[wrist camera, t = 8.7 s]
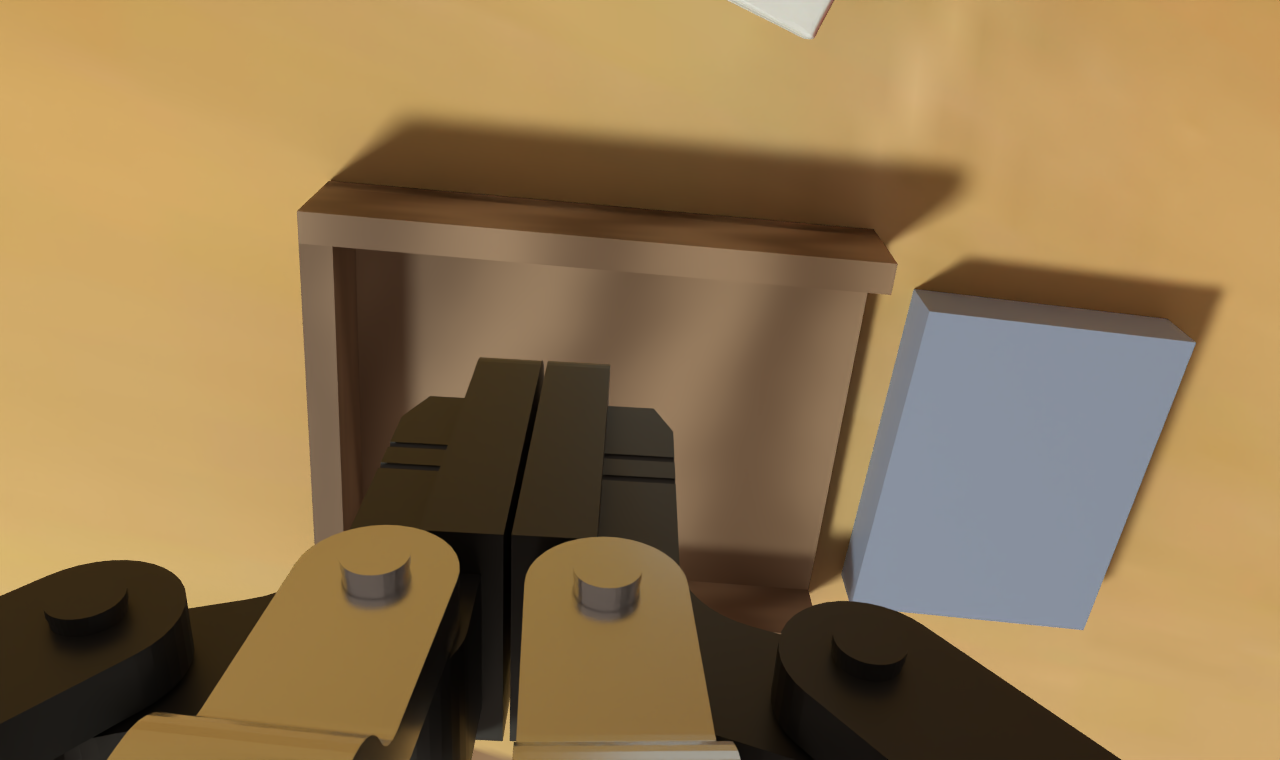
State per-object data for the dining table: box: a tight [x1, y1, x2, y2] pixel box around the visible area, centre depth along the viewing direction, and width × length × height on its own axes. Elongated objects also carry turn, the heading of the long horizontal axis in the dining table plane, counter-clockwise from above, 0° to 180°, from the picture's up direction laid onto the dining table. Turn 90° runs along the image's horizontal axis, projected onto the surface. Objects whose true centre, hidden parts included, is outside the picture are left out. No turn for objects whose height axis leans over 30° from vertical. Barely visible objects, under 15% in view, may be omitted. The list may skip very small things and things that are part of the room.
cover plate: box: [841, 289, 1196, 630], centre depth 37 cm, size 9×12×2 cm
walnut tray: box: [297, 181, 897, 634], centre depth 36 cm, size 18×15×4 cm
